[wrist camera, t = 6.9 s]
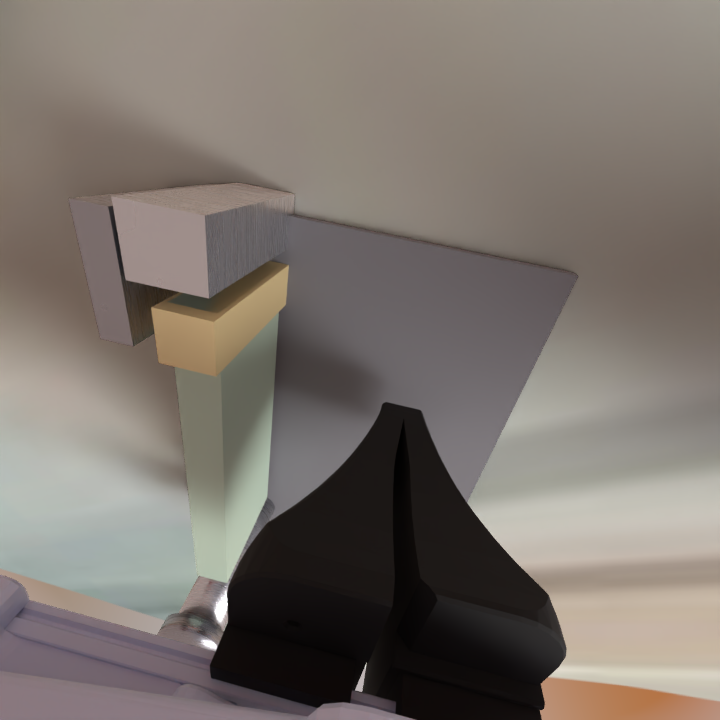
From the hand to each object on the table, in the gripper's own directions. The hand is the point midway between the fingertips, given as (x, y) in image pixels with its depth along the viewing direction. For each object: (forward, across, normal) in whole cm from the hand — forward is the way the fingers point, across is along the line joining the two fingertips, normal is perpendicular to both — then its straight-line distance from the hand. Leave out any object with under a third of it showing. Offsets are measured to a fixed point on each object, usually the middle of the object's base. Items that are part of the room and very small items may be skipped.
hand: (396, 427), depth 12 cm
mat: (+2, +2, +2) cm, 3 cm away
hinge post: (+2, +6, +8) cm, 10 cm away
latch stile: (+2, +6, -6) cm, 8 cm away
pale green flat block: (+1, +5, +1) cm, 6 cm away
